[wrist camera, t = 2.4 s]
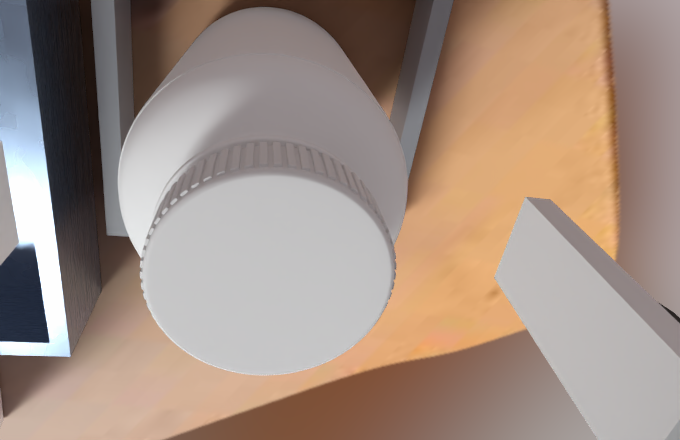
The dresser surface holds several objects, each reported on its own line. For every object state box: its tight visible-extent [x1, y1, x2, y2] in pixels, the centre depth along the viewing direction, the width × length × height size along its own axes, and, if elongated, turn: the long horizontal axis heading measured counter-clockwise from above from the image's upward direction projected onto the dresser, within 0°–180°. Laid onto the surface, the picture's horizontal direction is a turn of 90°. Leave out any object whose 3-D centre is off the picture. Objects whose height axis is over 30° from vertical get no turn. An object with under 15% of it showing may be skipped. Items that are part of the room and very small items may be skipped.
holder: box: [91, 0, 454, 237], centre depth 22 cm, size 14×14×2 cm
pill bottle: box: [118, 7, 408, 375], centre depth 17 cm, size 8×8×15 cm
